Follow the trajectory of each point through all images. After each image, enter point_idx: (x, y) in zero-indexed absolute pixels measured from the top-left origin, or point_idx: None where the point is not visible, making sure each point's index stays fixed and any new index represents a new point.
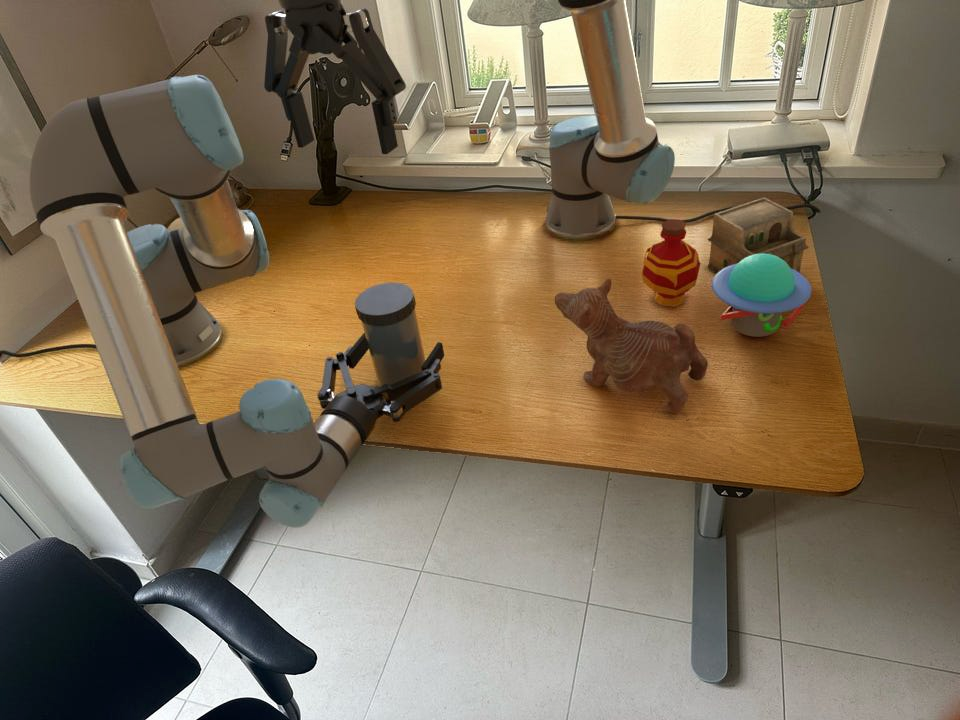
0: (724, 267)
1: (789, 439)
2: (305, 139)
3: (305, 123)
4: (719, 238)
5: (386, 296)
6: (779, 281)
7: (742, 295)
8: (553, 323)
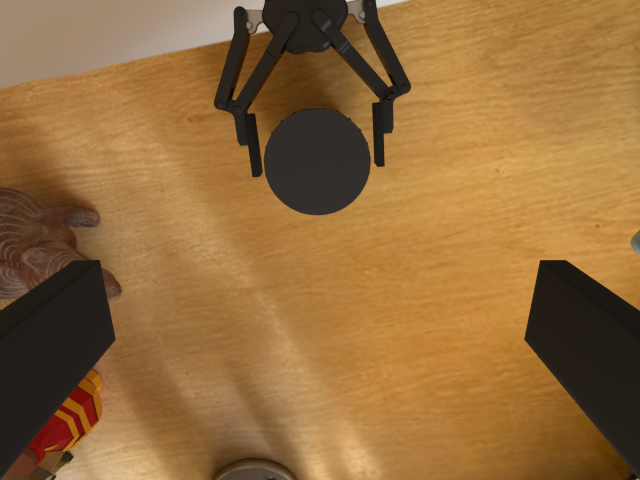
0: None
1: None
2: (546, 301)
3: (581, 371)
4: (29, 475)
5: (316, 170)
6: None
7: None
8: (191, 305)
